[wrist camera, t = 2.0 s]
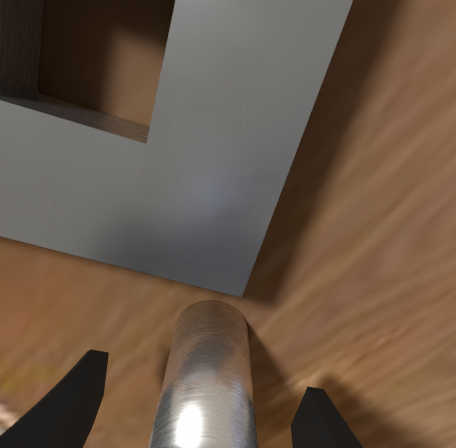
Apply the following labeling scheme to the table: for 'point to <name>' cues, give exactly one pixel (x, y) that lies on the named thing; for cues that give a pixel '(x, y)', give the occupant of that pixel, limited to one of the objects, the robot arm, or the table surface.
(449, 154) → the table surface
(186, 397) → the metal cylinder
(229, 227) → the square hole block
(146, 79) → the table surface
